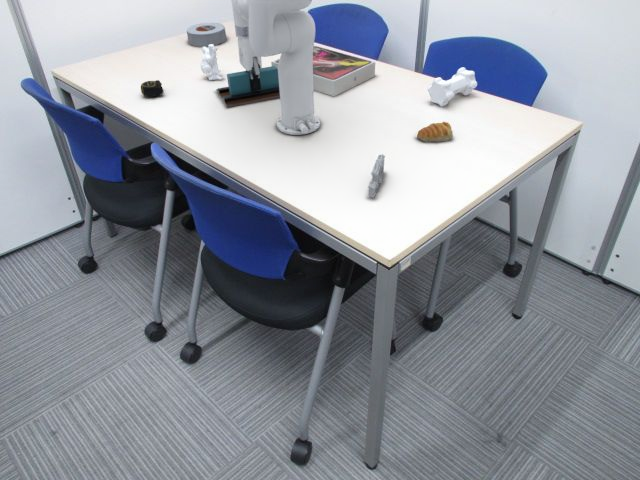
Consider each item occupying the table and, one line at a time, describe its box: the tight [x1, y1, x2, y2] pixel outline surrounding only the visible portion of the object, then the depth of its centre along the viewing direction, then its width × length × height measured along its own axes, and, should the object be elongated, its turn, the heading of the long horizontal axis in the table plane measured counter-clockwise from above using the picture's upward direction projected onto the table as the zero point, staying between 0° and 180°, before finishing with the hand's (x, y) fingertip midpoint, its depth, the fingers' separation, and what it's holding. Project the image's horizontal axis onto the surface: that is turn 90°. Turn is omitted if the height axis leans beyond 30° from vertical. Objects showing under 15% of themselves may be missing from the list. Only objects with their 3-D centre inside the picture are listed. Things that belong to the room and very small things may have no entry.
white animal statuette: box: [199, 44, 223, 81], centre depth 182 cm, size 8×7×12 cm
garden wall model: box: [367, 153, 386, 199], centre depth 127 cm, size 12×2×6 cm, turn 163°
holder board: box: [215, 86, 280, 109], centre depth 174 cm, size 14×22×2 cm, turn 112°
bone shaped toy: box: [427, 66, 478, 107], centre depth 164 cm, size 15×9×8 cm, turn 131°
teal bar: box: [226, 65, 279, 95], centre depth 171 cm, size 16×3×6 cm, turn 112°
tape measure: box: [140, 79, 164, 98], centre depth 175 cm, size 7×7×4 cm
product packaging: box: [270, 44, 376, 97], centre depth 183 cm, size 22×28×5 cm
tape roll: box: [186, 22, 227, 48], centre depth 216 cm, size 15×15×5 cm
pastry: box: [416, 121, 454, 143], centre depth 146 cm, size 9×7×4 cm
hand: (254, 87), depth 173 cm, fingers closed on teal bar, 3 cm apart
